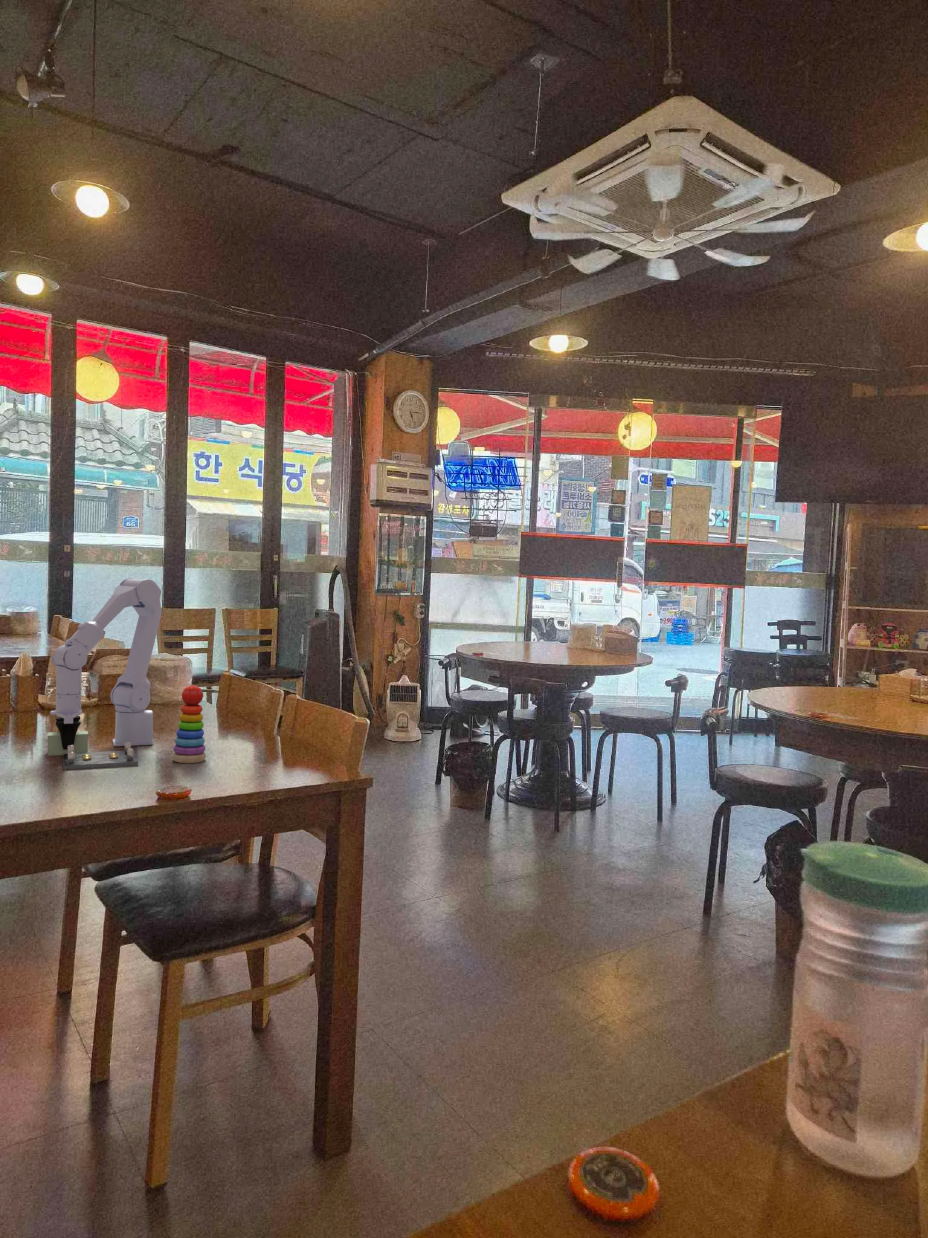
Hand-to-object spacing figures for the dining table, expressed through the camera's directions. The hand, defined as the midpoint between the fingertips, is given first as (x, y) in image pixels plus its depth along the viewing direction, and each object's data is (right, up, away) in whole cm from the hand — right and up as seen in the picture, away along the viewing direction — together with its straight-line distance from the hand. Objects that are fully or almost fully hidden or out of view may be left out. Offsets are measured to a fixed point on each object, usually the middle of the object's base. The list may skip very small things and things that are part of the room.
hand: (67, 747), depth 207 cm
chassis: (+11, -2, -8) cm, 14 cm away
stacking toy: (+31, -3, -2) cm, 31 cm away
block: (0, -2, 0) cm, 2 cm away
